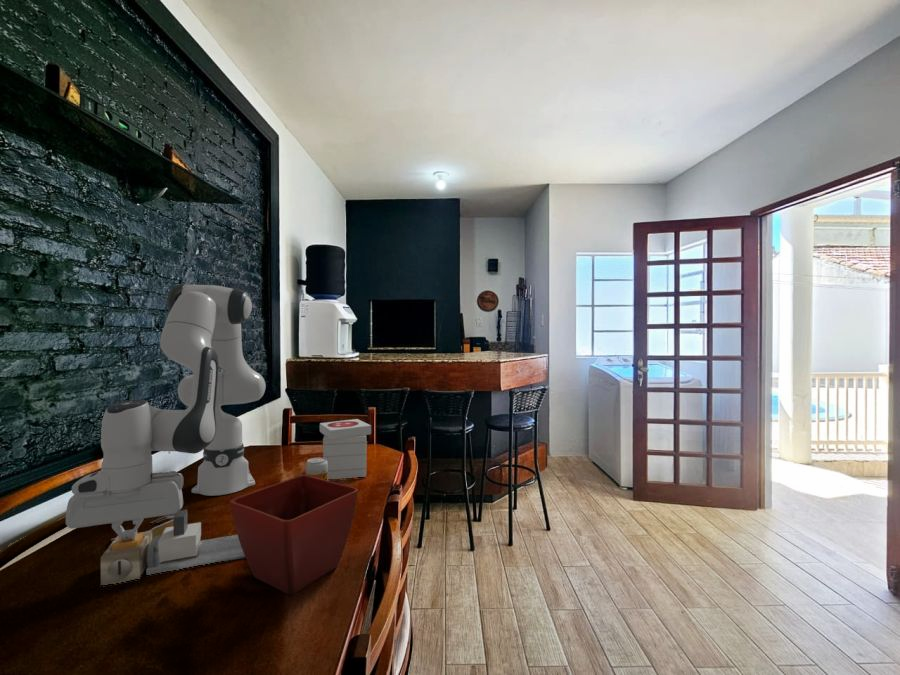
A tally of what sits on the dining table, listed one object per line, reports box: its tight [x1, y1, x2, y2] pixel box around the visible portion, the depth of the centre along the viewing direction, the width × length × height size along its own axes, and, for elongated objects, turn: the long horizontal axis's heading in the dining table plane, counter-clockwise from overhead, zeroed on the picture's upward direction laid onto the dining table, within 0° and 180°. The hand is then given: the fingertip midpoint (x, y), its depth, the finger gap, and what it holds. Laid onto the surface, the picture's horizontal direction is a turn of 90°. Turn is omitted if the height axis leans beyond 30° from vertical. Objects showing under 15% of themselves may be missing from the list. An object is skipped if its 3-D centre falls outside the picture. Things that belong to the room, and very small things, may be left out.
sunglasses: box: [110, 514, 175, 543], centre depth 108 cm, size 14×15×5 cm
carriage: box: [158, 509, 202, 562], centre depth 95 cm, size 7×7×9 cm
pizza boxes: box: [319, 418, 372, 480], centre depth 162 cm, size 19×30×18 cm, turn 11°
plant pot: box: [229, 474, 359, 595], centre depth 90 cm, size 19×19×17 cm
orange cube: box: [112, 534, 143, 551], centre depth 91 cm, size 4×4×4 cm
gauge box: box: [100, 530, 152, 586], centre depth 91 cm, size 11×6×6 cm, turn 23°
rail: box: [145, 534, 246, 576], centre depth 98 cm, size 8×25×6 cm, turn 113°
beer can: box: [305, 456, 329, 481], centre depth 122 cm, size 6×6×15 cm
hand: (128, 539), depth 91 cm, fingers closed, pressing on orange cube
